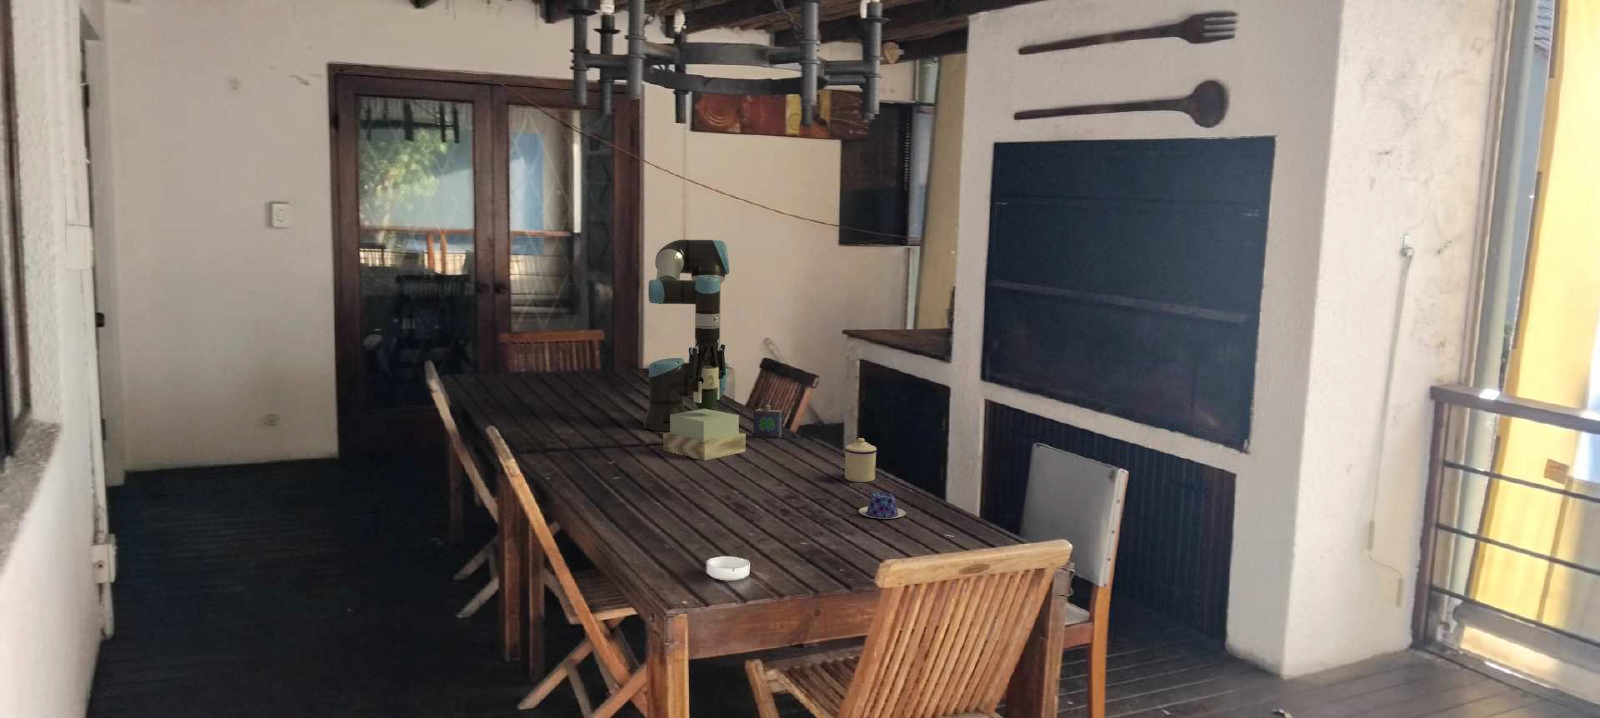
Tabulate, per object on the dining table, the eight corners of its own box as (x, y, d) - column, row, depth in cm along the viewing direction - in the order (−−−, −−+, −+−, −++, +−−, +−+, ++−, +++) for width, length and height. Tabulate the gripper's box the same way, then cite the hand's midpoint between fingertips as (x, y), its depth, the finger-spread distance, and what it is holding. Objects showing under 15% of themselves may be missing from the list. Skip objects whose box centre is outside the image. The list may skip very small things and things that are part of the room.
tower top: (670, 433, 368) (670, 414, 367) (705, 427, 379) (705, 408, 378) (703, 441, 358) (703, 421, 357) (738, 434, 369) (738, 415, 368)
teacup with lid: (881, 480, 337) (883, 440, 335) (854, 483, 332) (855, 443, 331) (860, 471, 347) (861, 432, 345) (833, 474, 343) (834, 434, 341)
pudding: (861, 521, 296) (862, 500, 295) (855, 508, 308) (856, 488, 307) (909, 521, 297) (910, 500, 296) (901, 508, 308) (902, 488, 308)
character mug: (689, 406, 370) (689, 365, 368) (710, 405, 373) (710, 364, 372) (702, 412, 361) (702, 370, 359) (724, 411, 364) (724, 369, 362)
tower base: (663, 452, 368) (663, 433, 367) (704, 444, 382) (704, 425, 381) (704, 461, 357) (704, 442, 356) (745, 452, 370) (745, 433, 369)
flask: (781, 436, 394) (782, 404, 392) (780, 438, 391) (781, 406, 390) (753, 435, 394) (754, 403, 393) (752, 437, 392) (753, 405, 390)
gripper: (692, 330, 353) (691, 406, 357) (738, 325, 369) (737, 398, 372) (675, 328, 358) (674, 403, 361) (721, 323, 373) (720, 395, 377)
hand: (706, 400), depth 367 cm, fingers closed on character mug, 7 cm apart
